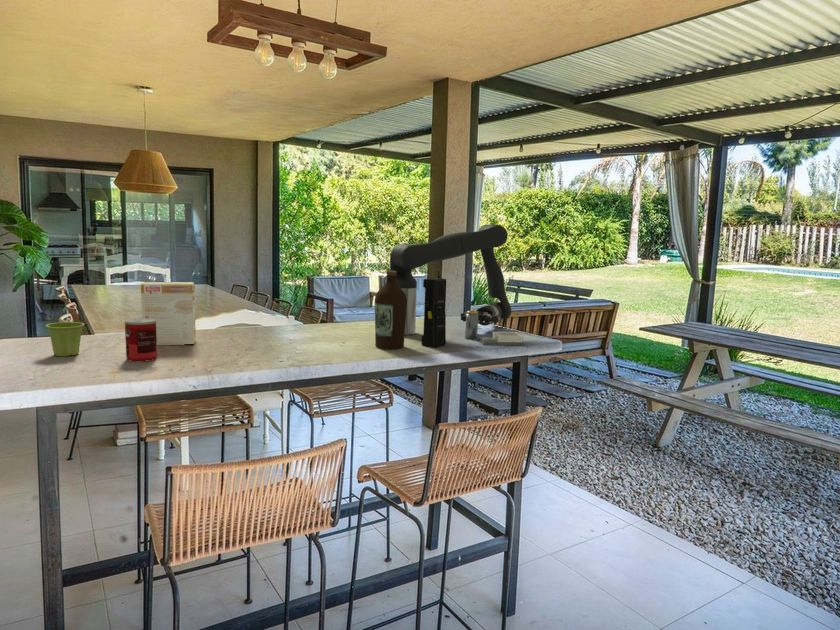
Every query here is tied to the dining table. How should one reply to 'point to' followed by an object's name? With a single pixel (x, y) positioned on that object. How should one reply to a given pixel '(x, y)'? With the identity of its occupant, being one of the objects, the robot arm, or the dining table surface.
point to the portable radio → (434, 312)
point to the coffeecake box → (170, 311)
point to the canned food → (141, 339)
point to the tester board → (503, 339)
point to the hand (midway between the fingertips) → (474, 319)
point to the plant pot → (65, 337)
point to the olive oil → (390, 314)
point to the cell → (471, 325)
